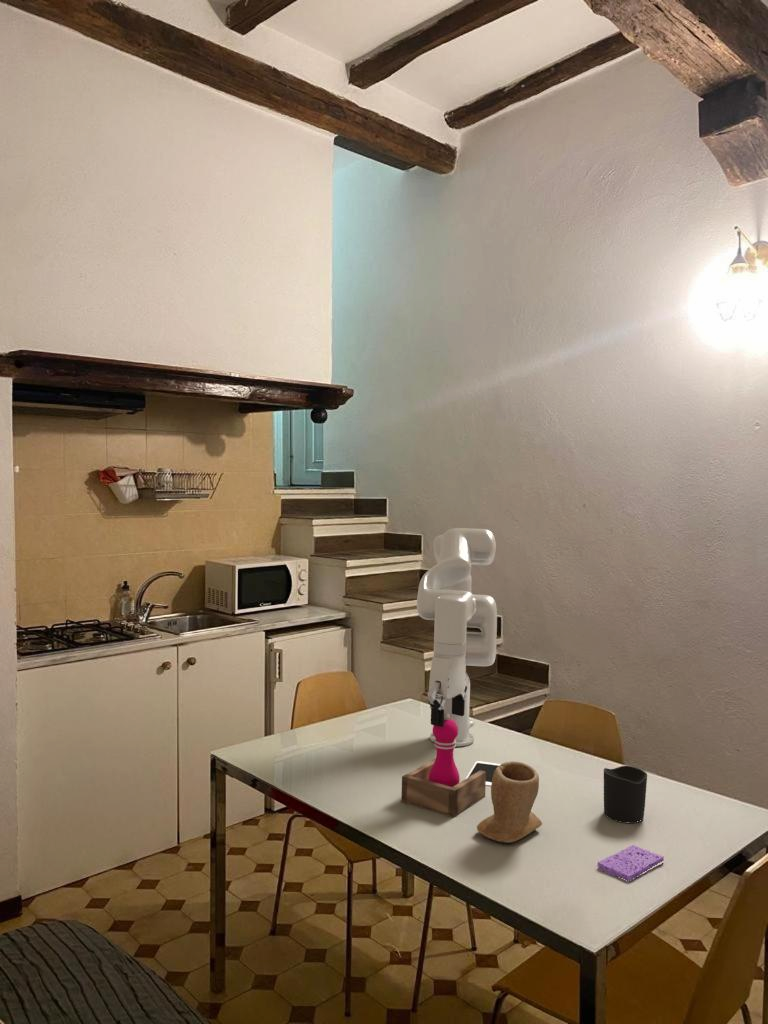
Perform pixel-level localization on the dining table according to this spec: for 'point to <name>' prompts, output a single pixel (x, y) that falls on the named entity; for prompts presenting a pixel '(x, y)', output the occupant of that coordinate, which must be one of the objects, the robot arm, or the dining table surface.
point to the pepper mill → (445, 754)
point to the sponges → (629, 862)
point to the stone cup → (512, 803)
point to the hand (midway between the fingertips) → (447, 720)
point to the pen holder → (625, 793)
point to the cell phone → (486, 767)
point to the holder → (441, 791)
